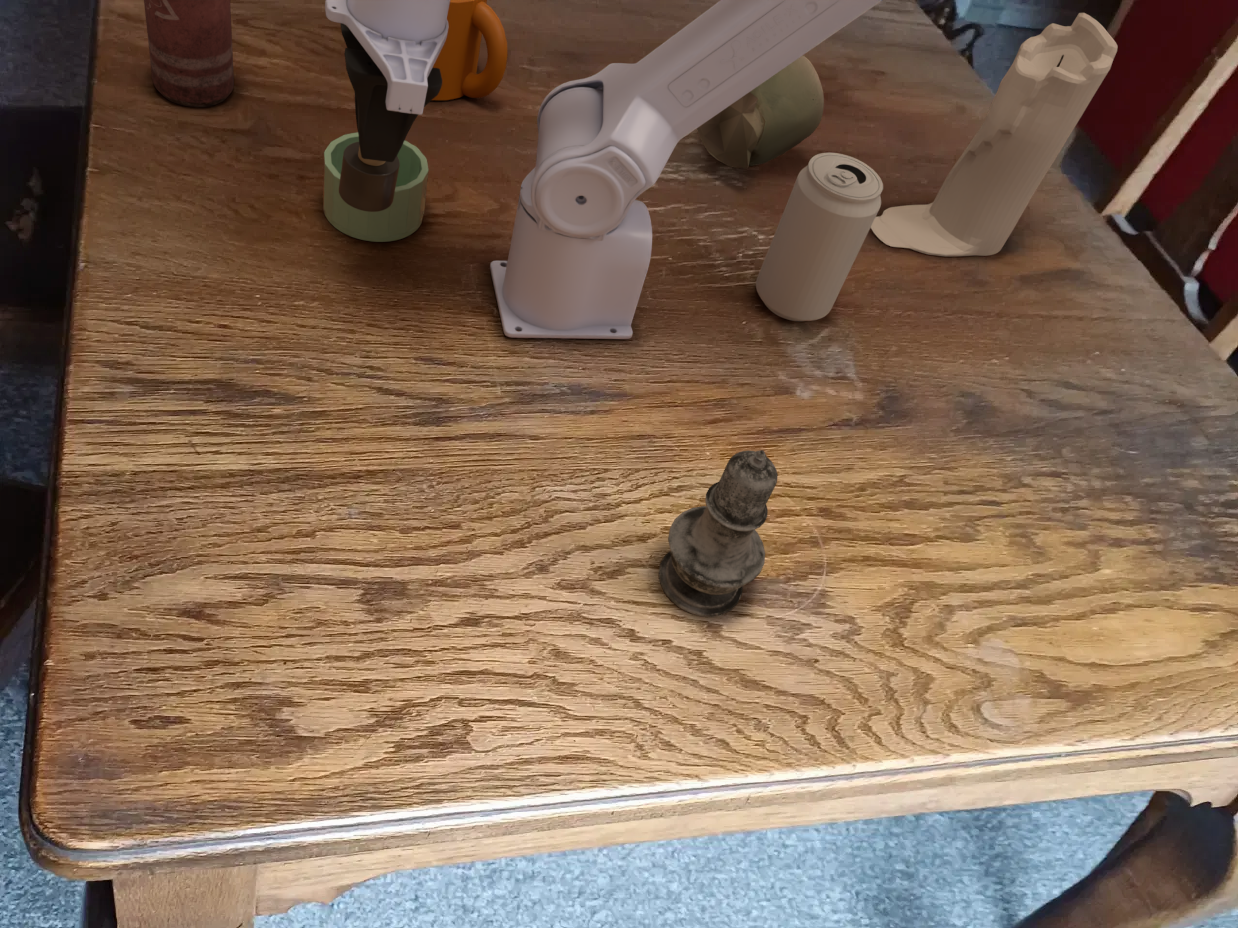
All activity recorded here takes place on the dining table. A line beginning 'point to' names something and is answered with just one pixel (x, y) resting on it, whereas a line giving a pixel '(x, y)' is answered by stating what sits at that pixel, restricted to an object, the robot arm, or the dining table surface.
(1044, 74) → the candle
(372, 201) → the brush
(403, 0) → the robot arm
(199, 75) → the can
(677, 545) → the chess piece
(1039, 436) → the dining table surface
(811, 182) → the beverage can
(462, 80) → the mug
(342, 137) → the pot
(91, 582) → the dining table surface
